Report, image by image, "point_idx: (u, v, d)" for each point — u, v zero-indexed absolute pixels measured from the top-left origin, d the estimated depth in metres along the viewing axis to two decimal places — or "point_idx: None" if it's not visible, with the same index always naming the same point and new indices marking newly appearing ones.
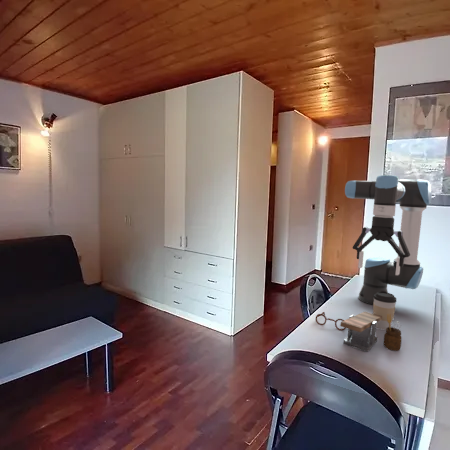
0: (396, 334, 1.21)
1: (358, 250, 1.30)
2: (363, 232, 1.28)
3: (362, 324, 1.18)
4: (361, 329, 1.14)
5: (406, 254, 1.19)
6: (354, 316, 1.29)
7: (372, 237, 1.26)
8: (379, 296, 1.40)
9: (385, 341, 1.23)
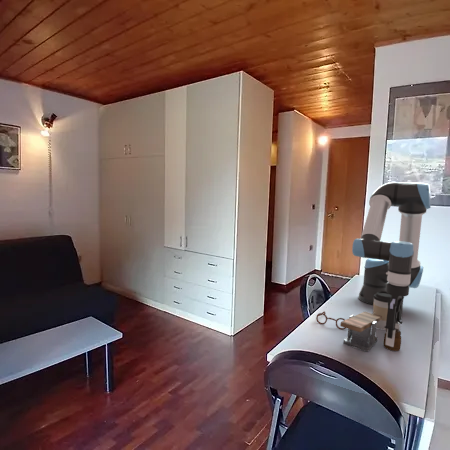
0: (396, 334, 1.21)
1: None
2: None
3: (362, 324, 1.18)
4: (361, 329, 1.14)
5: None
6: (354, 316, 1.29)
7: None
8: (379, 296, 1.40)
9: (385, 341, 1.23)
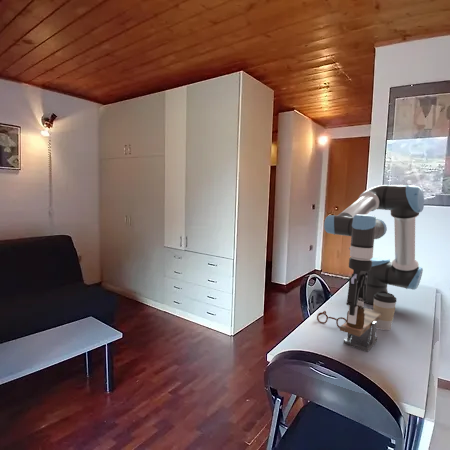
0: (358, 311, 1.16)
1: None
2: None
3: None
4: (360, 333, 1.14)
5: None
6: None
7: None
8: (379, 296, 1.40)
9: None
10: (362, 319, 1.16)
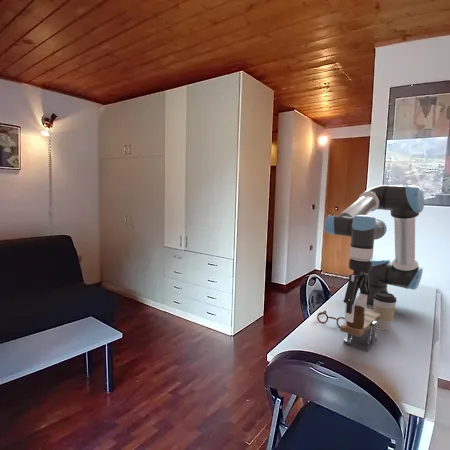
0: (358, 311, 1.16)
1: (360, 291, 1.25)
2: None
3: None
4: (360, 333, 1.14)
5: None
6: None
7: None
8: (379, 296, 1.40)
9: None
10: (362, 319, 1.16)
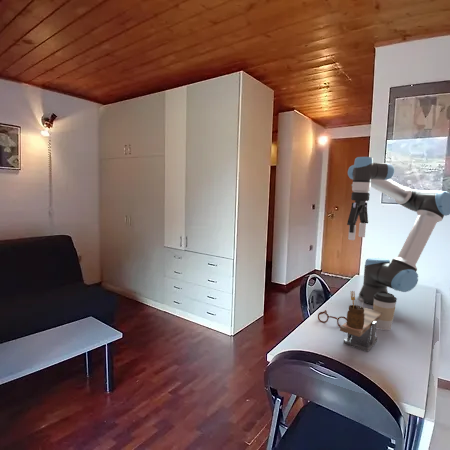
0: (358, 311, 1.16)
1: (360, 221, 1.56)
2: None
3: None
4: (360, 333, 1.14)
5: None
6: None
7: None
8: (379, 296, 1.40)
9: (348, 319, 1.18)
10: (362, 319, 1.16)
